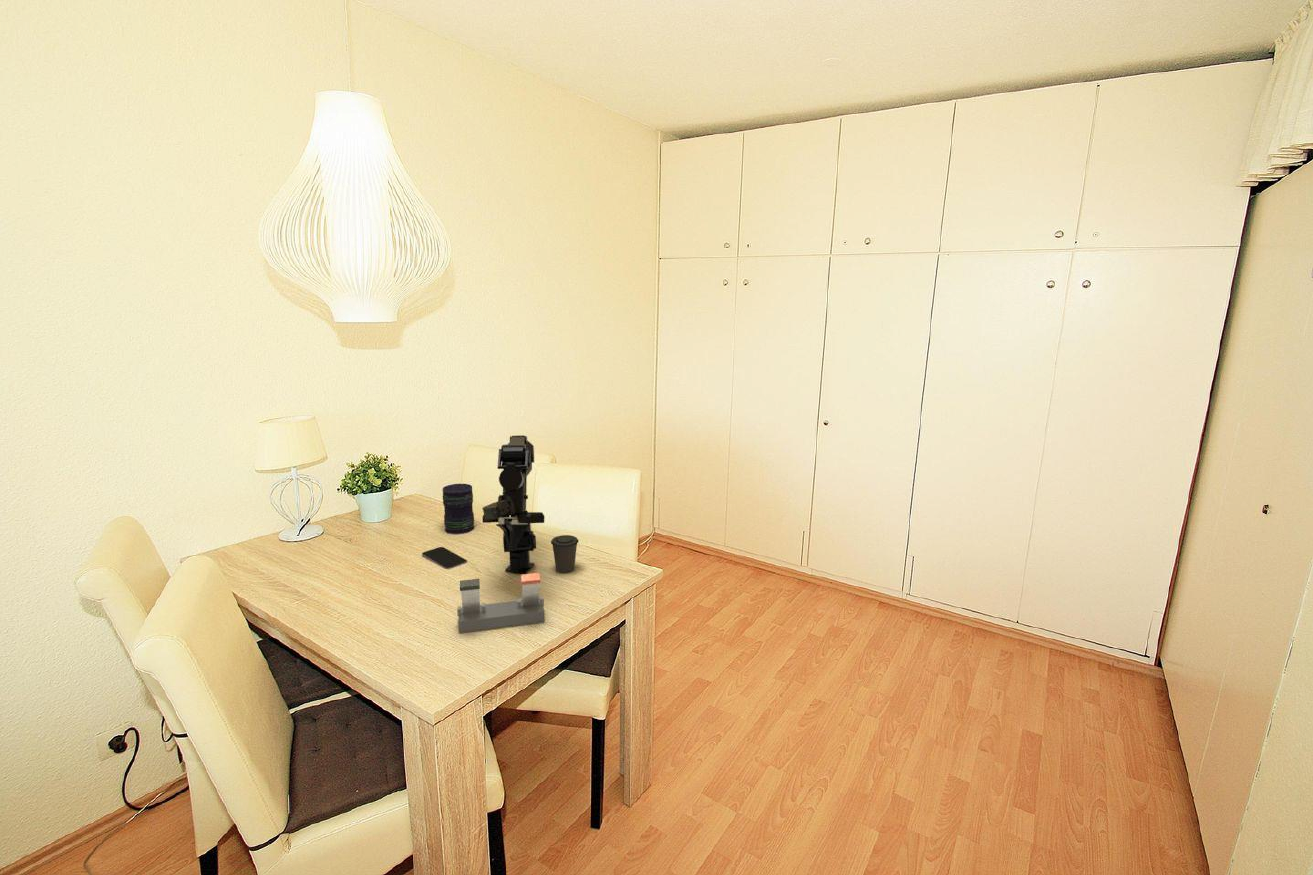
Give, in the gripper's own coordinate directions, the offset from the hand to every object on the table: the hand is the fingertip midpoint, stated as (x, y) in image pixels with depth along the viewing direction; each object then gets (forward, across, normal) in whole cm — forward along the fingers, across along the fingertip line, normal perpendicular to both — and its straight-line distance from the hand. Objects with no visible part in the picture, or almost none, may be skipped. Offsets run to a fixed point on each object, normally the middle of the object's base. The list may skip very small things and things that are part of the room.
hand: (512, 550), depth 153 cm
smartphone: (+5, -37, +4) cm, 37 cm away
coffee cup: (+7, -3, +22) cm, 24 cm away
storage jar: (-4, -53, +21) cm, 57 cm away
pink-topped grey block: (+12, +10, -2) cm, 16 cm away
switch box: (+16, +4, -6) cm, 18 cm away
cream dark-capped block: (+14, +1, -13) cm, 19 cm away
